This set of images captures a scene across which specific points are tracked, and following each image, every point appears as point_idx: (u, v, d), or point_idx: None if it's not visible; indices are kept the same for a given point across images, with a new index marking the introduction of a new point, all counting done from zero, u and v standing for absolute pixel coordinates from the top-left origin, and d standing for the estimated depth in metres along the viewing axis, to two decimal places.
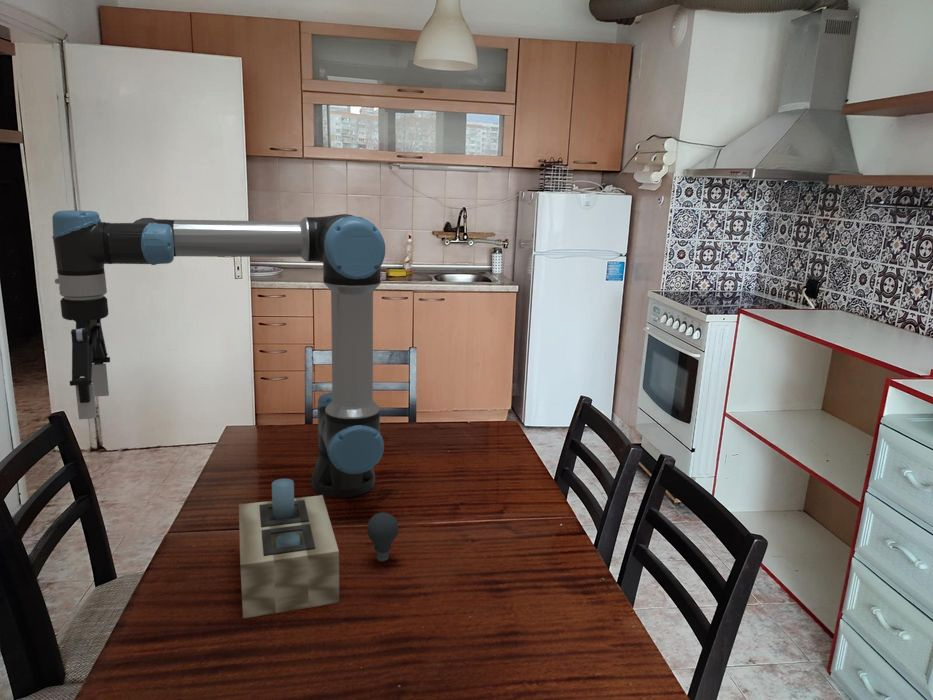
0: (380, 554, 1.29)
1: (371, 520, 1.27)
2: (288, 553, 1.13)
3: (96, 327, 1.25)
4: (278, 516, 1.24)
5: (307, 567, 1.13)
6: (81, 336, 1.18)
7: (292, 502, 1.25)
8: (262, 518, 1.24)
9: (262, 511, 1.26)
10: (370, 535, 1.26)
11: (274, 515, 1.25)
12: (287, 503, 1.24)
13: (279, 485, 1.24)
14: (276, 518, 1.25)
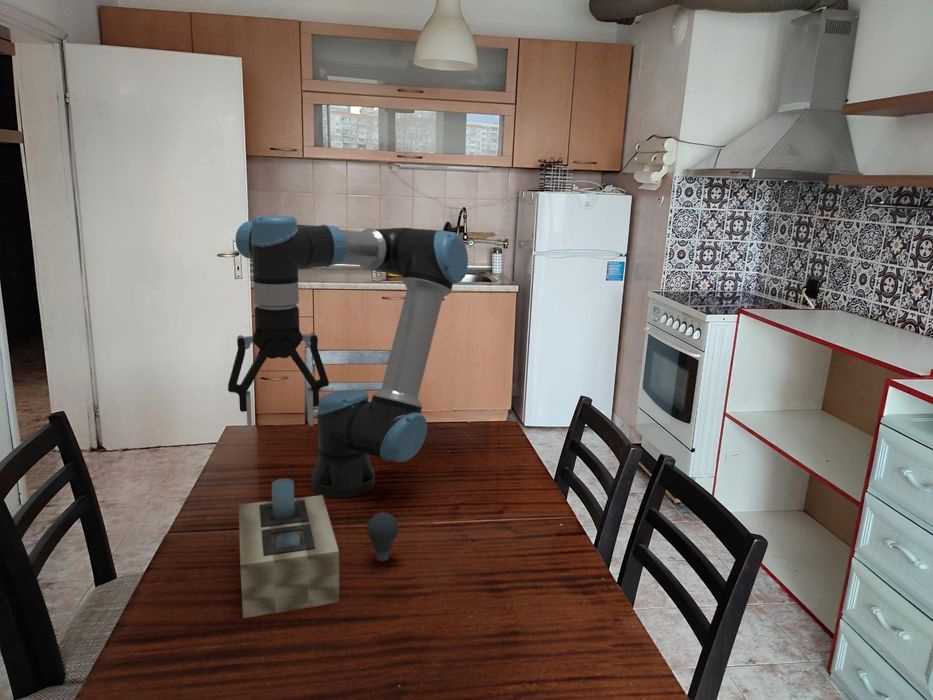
0: (380, 554, 1.29)
1: (371, 520, 1.27)
2: (288, 553, 1.13)
3: (283, 340, 1.17)
4: (278, 516, 1.24)
5: (307, 567, 1.13)
6: None
7: (292, 502, 1.25)
8: (262, 518, 1.24)
9: (262, 511, 1.26)
10: (370, 535, 1.26)
11: (274, 515, 1.25)
12: (287, 503, 1.24)
13: (279, 485, 1.24)
14: (276, 518, 1.25)
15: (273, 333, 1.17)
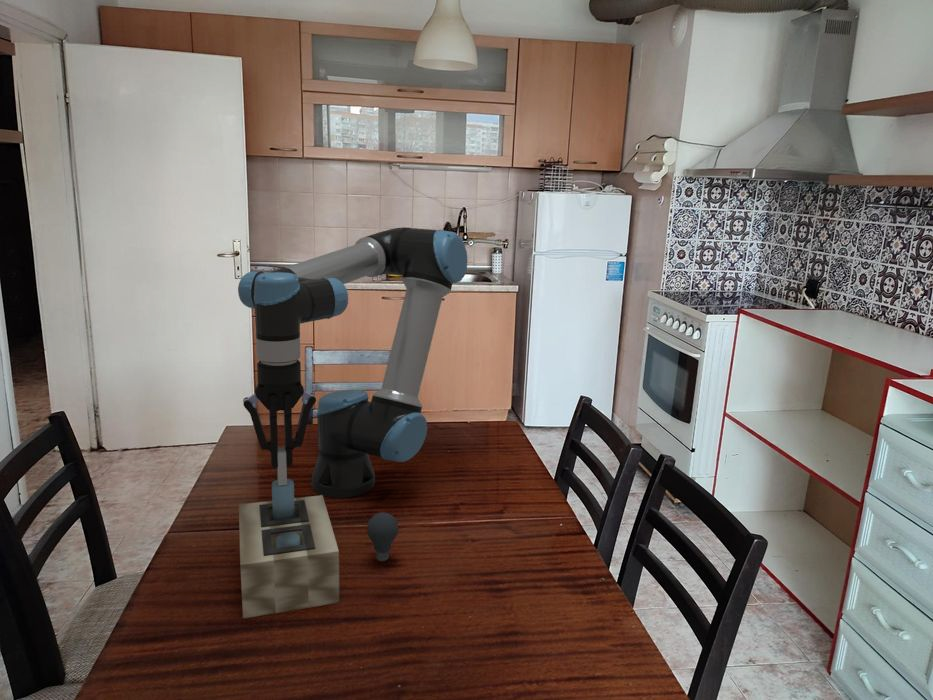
0: (380, 554, 1.29)
1: (371, 520, 1.27)
2: (288, 553, 1.13)
3: (287, 393, 1.20)
4: (278, 516, 1.24)
5: (307, 567, 1.13)
6: None
7: (292, 503, 1.25)
8: (262, 518, 1.24)
9: (262, 511, 1.26)
10: (370, 535, 1.26)
11: (274, 515, 1.25)
12: (287, 503, 1.24)
13: None
14: (276, 518, 1.25)
15: None
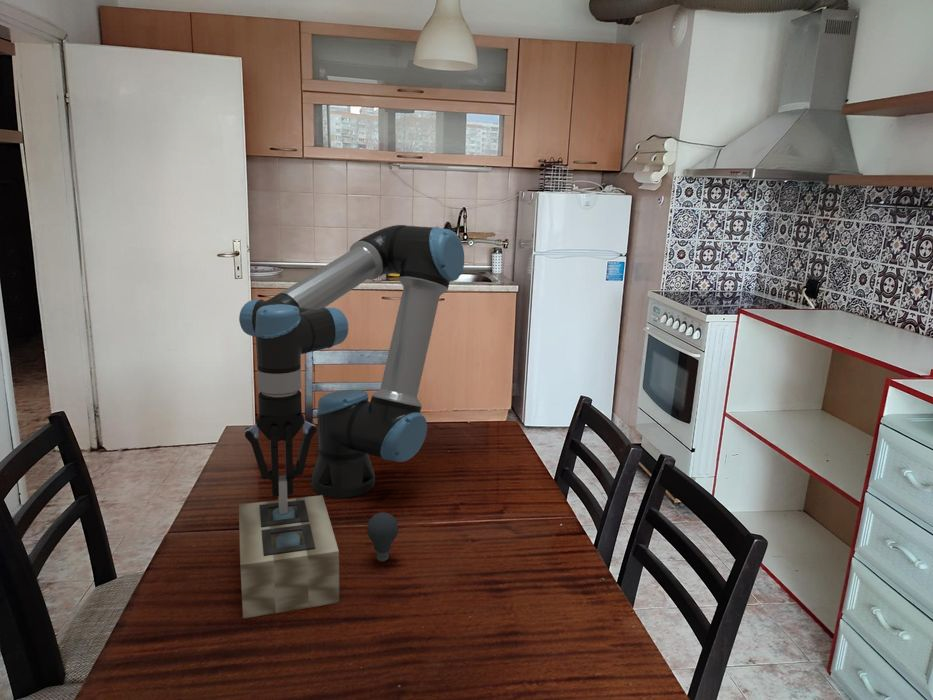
0: (380, 554, 1.29)
1: (371, 520, 1.27)
2: (288, 553, 1.13)
3: (288, 423, 1.21)
4: None
5: (307, 567, 1.13)
6: None
7: None
8: (262, 518, 1.24)
9: (262, 511, 1.26)
10: (370, 535, 1.26)
11: None
12: None
13: None
14: None
15: None
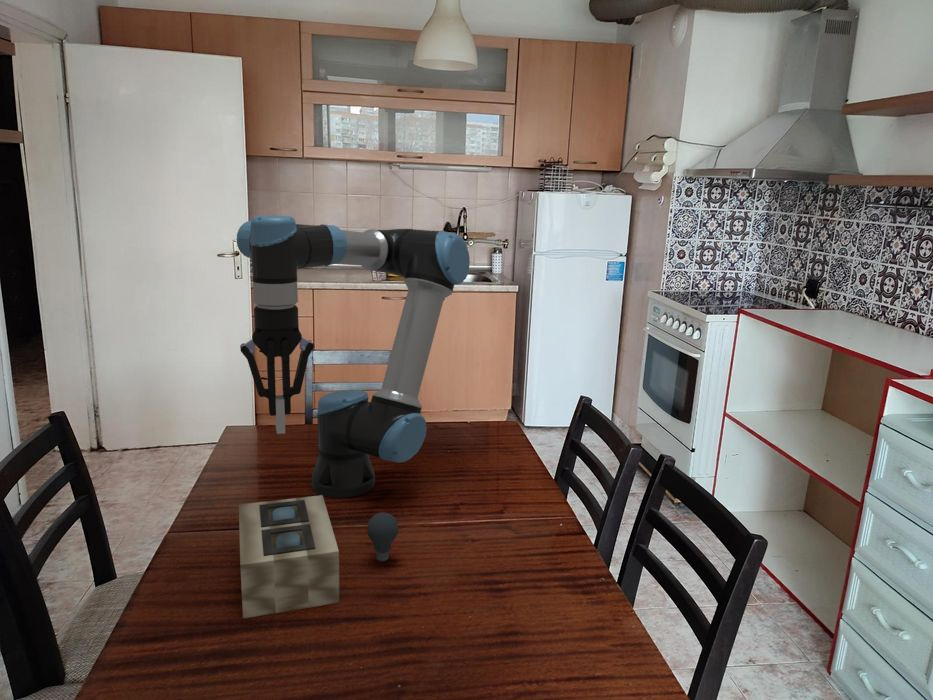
0: (380, 554, 1.29)
1: (371, 520, 1.27)
2: (288, 553, 1.13)
3: (284, 339, 1.18)
4: None
5: (307, 567, 1.13)
6: None
7: None
8: (262, 518, 1.24)
9: (262, 511, 1.26)
10: (370, 535, 1.26)
11: None
12: None
13: (280, 514, 1.25)
14: None
15: None
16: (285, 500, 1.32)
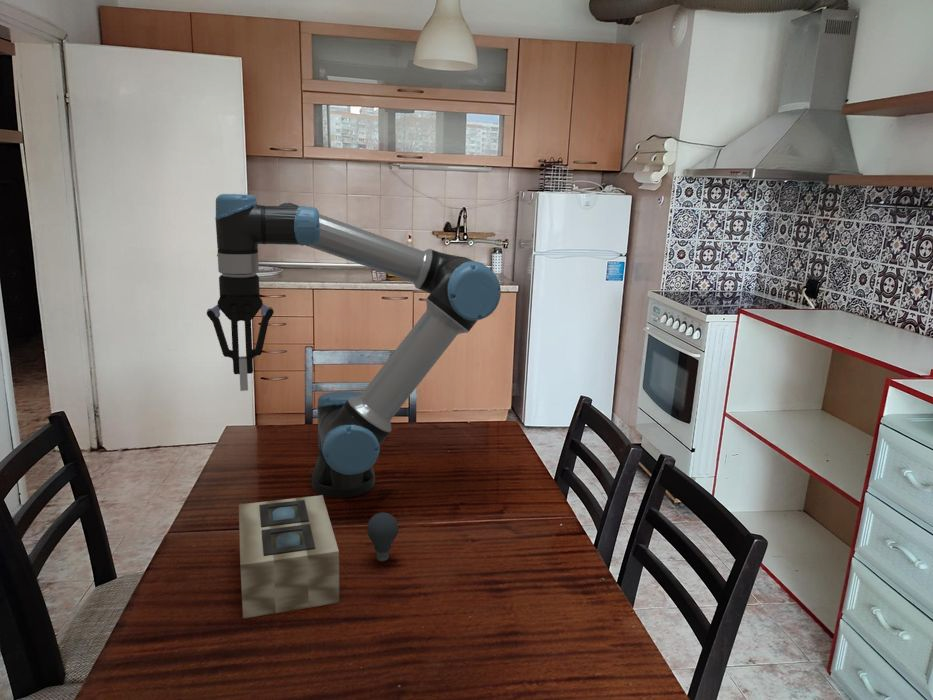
0: (380, 554, 1.29)
1: (371, 520, 1.27)
2: (288, 553, 1.13)
3: (246, 304, 1.32)
4: None
5: (307, 567, 1.13)
6: None
7: None
8: (262, 518, 1.24)
9: (262, 511, 1.26)
10: (370, 535, 1.26)
11: None
12: None
13: (280, 514, 1.25)
14: None
15: None
16: (285, 500, 1.32)
